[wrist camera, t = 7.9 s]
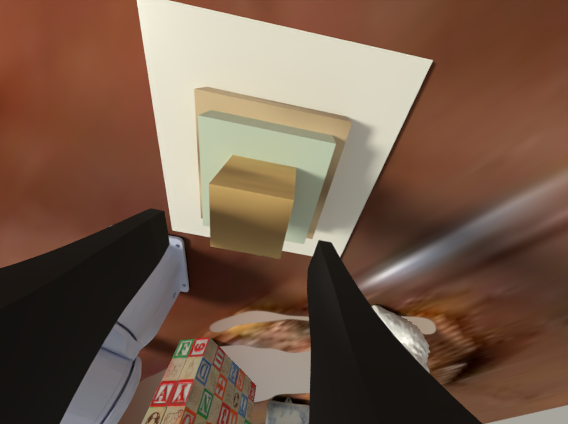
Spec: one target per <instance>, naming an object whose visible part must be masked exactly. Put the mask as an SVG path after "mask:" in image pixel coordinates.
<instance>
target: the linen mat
mask: <svg viewBox="0 0 568 424" xmlns="http://www.w3.org/2000/svg"><path fill="white" fill-rule="evenodd" d="M137 5H138V12H139V18H140V25H141V31H142V37H143V44H144V50H145V57H146V63H147V70H148V76H149V83H150V89H151V96H152V102H153V109H154V115H155V121H156V128H157V134H158V141H159V147H160V154H161V160H162V167H163V173H164V180H165V186H166V193H167V199H168V205H169V212H170V218H171V225H172V230H174V231H179V232H184V233H190V234H195V235H201V236H206V237H210V227H209V226H203V219H202V218H201V209H200V190H199V171H198V152H197V133H196V114H195V96H194V89H196V88H201V87H211V88H215V89H220V90H225V91H229V92H234V93H239V94H244V95H248V96H253V97H258V98H262V99H267V100H272V101H277V102H281V103H286V104H291V105H295V106H300V107H305V108H309V109H314V110H319V111H324V112H328V113H333V114H338V115H342V116H347V117H348V118H349V119H350V120H351V121H352V125H351V128H350V131H349V134H348V136H347V139H346V142H345V145H344V148H343V151H342V154H341V157H340V160H339V163H338V166H337V169H336V172H335V174H334V177H333V180H332V183H331V186H330V189H329V192H328V195H327V198H326V201H325V204H324V207H323V210H322V212H321V215H320V218H319V221H318V224H317V227H316V230H315V233H314V236H313V239H309V238H306V240H305V243H304V244H300V243H294V242H289V241H284V244H283V249H282V251H287V252H293V253H298V254H304V255H309V256H313V254H314V251H315V248H316V246H317V243H318V240H322V241H327V242H331V243H332V244H333V246H334V248H335V249H336V251H337V253H338V255H339V257H340V256H341V254H342V252H343V250H344V248H345V246H346V244H347V241H348V239H349V237H350V235H351V233H352V231H353V229H354V227H355V225H356V222H357V220H358V218H359V216H360V214H361V212H362V210H363V208H364V205H365V203H366V201H367V199H368V197H369V195H370V193H371V191H372V189H373V186H374V184H375V182H376V180H377V178H378V176H379V174H380V172H381V169H382V167H383V165H384V163H385V161H386V159H387V157H388V155H389V152H390V150H391V148H392V146H393V144H394V142H395V140H396V138H397V136H398V133H399V131H400V129H401V127H402V125H403V123H404V121H405V119H406V116H407V114H408V112H409V110H410V108H411V106H412V104H413V102H414V100H415V97H416V95H417V93H418V91H419V89H420V87H421V85H422V83H423V80H424V78H425V76H426V74H427V72H428V70H429V68H430V66H431V64H432V61H433V60H429V59H425V58H421V57H416V56H412V55H407V54H403V53H399V52H394V51H390V50H385V49H381V48H377V47H372V46H368V45H363V44H359V43H354V42H350V41H346V40H341V39H337V38H332V37H328V36H324V35H319V34H315V33H310V32H306V31H301V30H297V29H293V28H288V27H284V26H279V25H275V24H271V23H266V22H262V21H257V20H253V19H249V18H244V17H240V16H235V15H231V14H226V13H222V12H218V11H213V10H209V9H204V8H200V7H196V6H191V5H187V4H182V3H178V2H173V1H169V0H137Z"/></svg>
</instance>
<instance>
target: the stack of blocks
mask: <svg viewBox="0 0 568 424" xmlns="http://www.w3.org/2000/svg"><path fill="white" fill-rule="evenodd" d="M255 390H256V385H255V384H254V383H253V382H252V381H251V380H250V378H249V377H248V376H247V375H246V374H245V373H244V372H243V371H242V370H241V369H240V368H239V367H238V366H237V365H236V364H235V363H234V362H233V361H232V360H231V359H230V358H229V357H228V356H227V355H226V354H225V352H224V351H223V350H222V349H221V348H220V347H219V346H218V345H217V344H216V343H215V342H214V341H213V340H212V339H211V338H199V339H190V340H180V342H179V344H178V346H177V349H176V351H175V353H174V355H173V357H172V360H171V362H170V364H169V366H168V368H167V371H166V373H165V375H164V377H163V379H162V382H161V383H160V385H159V387H158V389H157V392H156V394H155V395H154V398H153V400H152V402H151V404H150V407H149V409H148V412H147V414H146V416H145V418H144V420H143V422H142V424H251V419H252V412H253V405H254V403H253V402H254V396H255Z"/></svg>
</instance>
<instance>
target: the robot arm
mask: <svg viewBox="0 0 568 424" xmlns="http://www.w3.org/2000/svg"><path fill="white" fill-rule="evenodd" d="M180 291H182V292H188V291H189V281H188V273H187V264H186V256H185V248H184V241H183V239H182V238H180V237H175V236H169V235H168V230H167V224H166V218H165V213H164V211H161V210H156V209H148V210H146V211H143V212H141V213H139V214H137V215H134V216H132V217H130V218H128V219H126V220H123V221H121V222H119V223H117V224H115V225H111V226H110V227H108V228H106V229H104V230H101V231H99V232H97V233H95V234H92V235H90V236H87V237H85V238H83V239H80V240H78V241H75V242H73V243H71V244H68V245H66V246H63V247H61V248H58V249H56V250H53V251H50V252H48V253H45V254H42V255H39V256H36V257H34V258H31V259H28V260H25V261H22V262H19V263H16V264H13V265H10V266H7V267H3V268H0V424H117V423H118V421H119V420H120V418H121V417H122V415H123V414H124V412H125V410H126V409H127V407H128V405H129V403H130V401H131V399H132V397H133V395H134V393H135V391H136V389H137V386H138V383H139V380H140V377H141V365H142V364H141V359H140V358H139V357H137V355H138V353H139V351H140V349H142V348H143V347H145V346H146V345H147V344H148V343H149V342H150V341H151V340H152V339H153V338H154V337H155V335H156V334H157V332H158V331H159V329H160V327H161V325H162V323H163V322H164V320H165V318H166V316H167V314H168V312H169V311H170V309H171V307H172V305H173V303H174V302H175V300H176V298H177V296H178V294H179V293H180ZM307 295H308V309H309V323H310V337H311V378H310V407H309V424H482V423H481V422H480V421H479V420H478V419H477V418H476V417H474V416H473V415H472V414H471V413H470V412H469V411H468V410H467V409H466V408H465V407H464V406H463V405H462V404H460V403H459V402H458V401H457V400H456V399H455V398H454V397H453V396H452V395H451V394H450V393H449V392H448V391H447V390H446V389H445V388H444V387H443V386H442V385H441V384H440V383H439V382H438V381H437V380H436V379H435V378H434V377H433V376H432V375H431V374H430V373H429V372H428V371H427V370H426V369H425V368H424V367H423V366H422V365H421V364H420V363H419V362H418V361H417V360H416V359H415V358H414V357H413V356H412V355H411V353H410V352H409V351H408V350H407V349H406V348H405V347H404V346H403V345H402V343H401V342H400V341H399V340H398V339H397V338H396V337H395V335H394V334H393V333H392V332H391V331H390V330H389V328H388V327H387V326H386V325H385V323H384V322H383V321H382V320H381V318H380V317H379V316H378V315H377V313H376V312H375V311H374V309H373V308H372V307H371V305H370V304H369V303H368V301H367V300H366V298H365V297H364V295H363V294H362V293H361V291H360V290H359V288H358V286H357V285H356V283H355V282H354V280H353V279H352V277H351V275H350V274H349V272H348V270H347V269H346V267H345V265H344V264H343V262H342V260H341V258H340V257H339V255H338V253H337V251H336V249H335V248H334V246H333V244H332V243H331V242H327V241H322V240H318V243H317V246H316V248H315V251H314V254H313V257H312V259H311V262H310V265H309V268H308V279H307Z"/></svg>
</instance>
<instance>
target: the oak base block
mask: <svg viewBox="0 0 568 424" xmlns="http://www.w3.org/2000/svg"><path fill="white" fill-rule="evenodd" d="M194 96H195V114H196V133H197V152H198V171H199V190H200V209H201V218H202V219H203V214H202V193H201V172H200V151H199V130H198V115H200V114H202V113H204V112H207V111H209V110H214V111H219V112H224V113H229V114H233V115H238V116H243V117H248V118H253V119H257V120H262V121H267V122H272V123H277V124H281V125H286V126H291V127H296V128H301V129H305V130H310V131H315V132H320V133H325V134H329V135H332V136H333V138H334V140H335V143H336V146H335V149H334V152H333V155H332V158H331V161H330V165H329V168H328V171H327V174H326V177H325V180H324V183H323V187H322V190H321V193H320V196H319V199H318V202H317V205H316V209H315V212H314V215H313V218H312V221H311V224H310V227H309V230H308V234H307V237H306V238H309V239H313V236H314V233H315V230H316V227H317V224H318V221H319V218H320V215H321V212H322V210H323V207H324V204H325V201H326V198H327V195H328V192H329V189H330V186H331V183H332V180H333V177H334V174H335V172H336V169H337V166H338V163H339V160H340V157H341V154H342V151H343V148H344V145H345V142H346V139H347V136H348V134H349V131H350V128H351V125H352V121H351V120H350V119H349V118H348V117H347V116H342V115H338V114H333V113H328V112H324V111H319V110H314V109H309V108H305V107H300V106H295V105H291V104H286V103H281V102H277V101H272V100H267V99H262V98H258V97H253V96H248V95H244V94H239V93H234V92H229V91H225V90H220V89H215V88H211V87H201V88H196V89H194Z"/></svg>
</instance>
